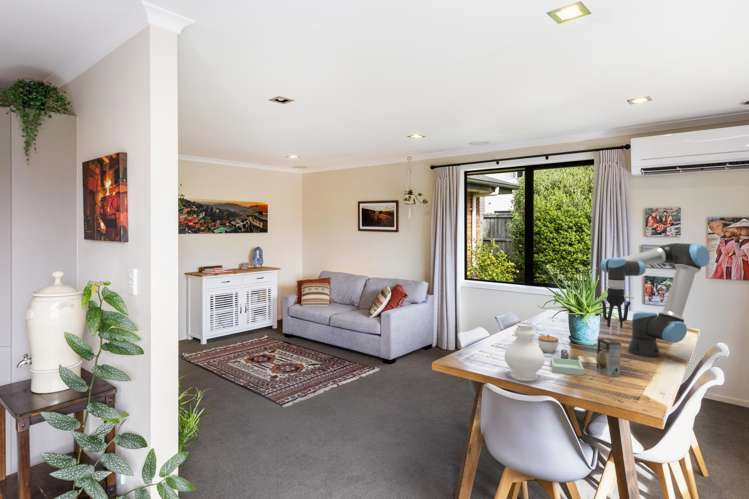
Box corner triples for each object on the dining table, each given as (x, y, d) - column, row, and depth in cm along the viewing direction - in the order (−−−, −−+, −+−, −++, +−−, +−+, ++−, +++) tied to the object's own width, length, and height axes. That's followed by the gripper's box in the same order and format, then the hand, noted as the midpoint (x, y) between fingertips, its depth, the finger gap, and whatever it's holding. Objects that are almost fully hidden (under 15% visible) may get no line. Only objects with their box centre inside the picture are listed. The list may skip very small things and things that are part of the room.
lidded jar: (559, 354, 242) (560, 337, 242) (539, 353, 244) (540, 336, 244) (555, 349, 253) (556, 333, 252) (536, 348, 255) (536, 332, 254)
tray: (579, 366, 222) (579, 360, 222) (583, 375, 208) (584, 369, 208) (550, 363, 226) (550, 357, 226) (553, 372, 212) (553, 366, 212)
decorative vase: (506, 368, 218) (507, 319, 217) (544, 373, 211) (545, 322, 210) (502, 380, 201) (503, 326, 200) (543, 385, 195) (544, 330, 193)
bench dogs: (566, 359, 234) (566, 349, 234) (568, 364, 226) (568, 354, 225) (560, 358, 235) (560, 349, 235) (562, 363, 226) (562, 353, 226)
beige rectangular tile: (594, 362, 231) (594, 357, 230) (597, 367, 221) (597, 363, 221) (577, 360, 233) (577, 356, 233) (580, 366, 223) (580, 361, 223)
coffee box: (596, 370, 216) (597, 338, 215) (608, 370, 216) (609, 337, 216) (607, 376, 207) (608, 343, 206) (620, 376, 207) (621, 342, 206)
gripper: (631, 287, 222) (630, 333, 224) (597, 286, 227) (595, 330, 229) (635, 289, 215) (634, 336, 216) (599, 288, 220) (598, 334, 221)
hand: (614, 333), depth 222 cm, fingers open, 3 cm apart
